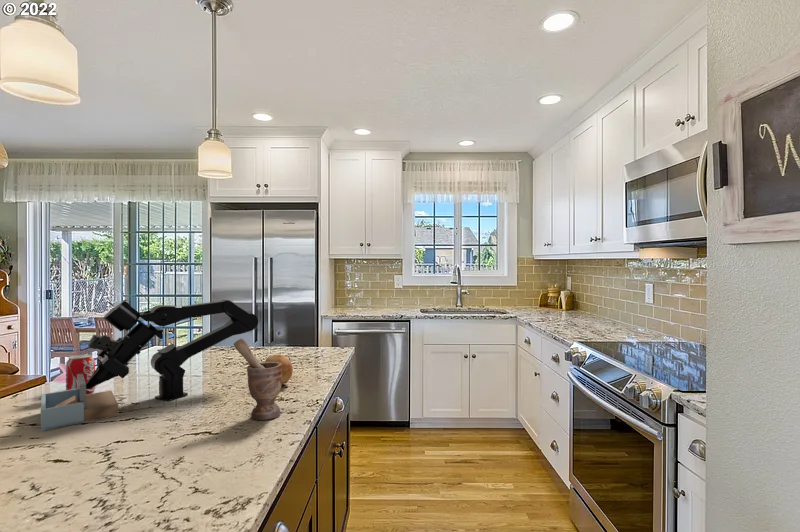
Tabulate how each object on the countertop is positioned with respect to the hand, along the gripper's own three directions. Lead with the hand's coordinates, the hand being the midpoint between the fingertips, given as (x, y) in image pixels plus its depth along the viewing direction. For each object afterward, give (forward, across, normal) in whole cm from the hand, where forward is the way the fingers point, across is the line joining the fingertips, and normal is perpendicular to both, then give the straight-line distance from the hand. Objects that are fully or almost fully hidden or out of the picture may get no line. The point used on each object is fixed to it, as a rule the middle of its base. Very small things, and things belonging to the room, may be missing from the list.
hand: (85, 388), depth 111 cm
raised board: (+3, 0, +7) cm, 7 cm away
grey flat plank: (+3, 0, +2) cm, 3 cm away
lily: (+6, -28, +4) cm, 29 cm away
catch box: (+8, 0, +1) cm, 8 cm away
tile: (+6, 0, +1) cm, 6 cm away
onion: (-30, +10, +40) cm, 51 cm away
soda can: (+5, -20, +5) cm, 21 cm away
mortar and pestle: (-19, +34, +29) cm, 48 cm away
